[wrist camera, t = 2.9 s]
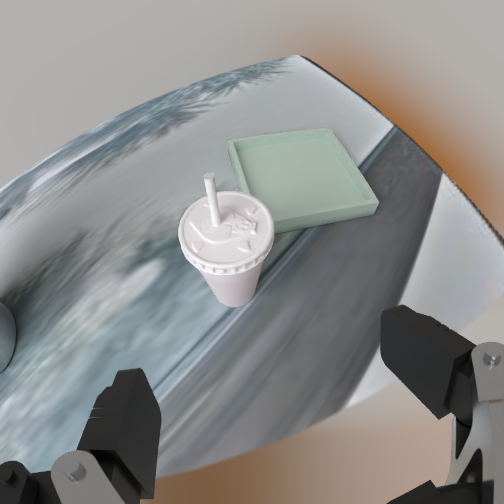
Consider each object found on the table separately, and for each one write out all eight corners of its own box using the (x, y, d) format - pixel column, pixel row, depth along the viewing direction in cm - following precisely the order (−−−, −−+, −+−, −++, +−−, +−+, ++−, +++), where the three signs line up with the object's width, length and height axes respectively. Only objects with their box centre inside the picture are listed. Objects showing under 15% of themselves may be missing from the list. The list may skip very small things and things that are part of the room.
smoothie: (207, 255, 30) (180, 140, 18) (273, 262, 29) (282, 144, 17) (194, 316, 26) (144, 218, 14) (265, 325, 26) (273, 229, 14)
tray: (253, 238, 31) (253, 225, 29) (228, 153, 38) (227, 140, 36) (373, 214, 32) (379, 202, 30) (327, 140, 39) (329, 127, 37)
